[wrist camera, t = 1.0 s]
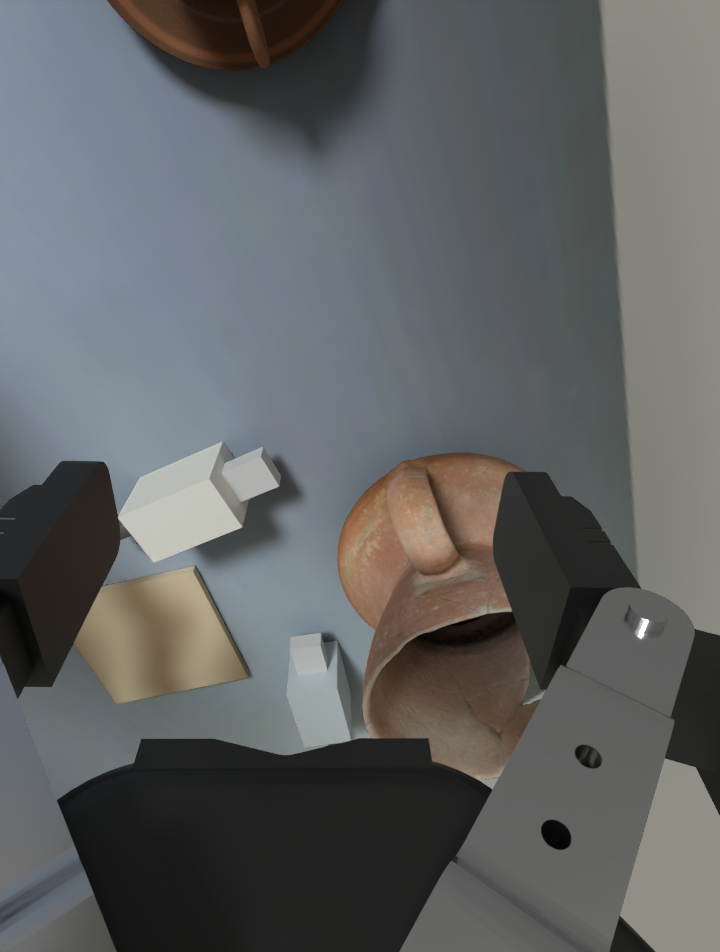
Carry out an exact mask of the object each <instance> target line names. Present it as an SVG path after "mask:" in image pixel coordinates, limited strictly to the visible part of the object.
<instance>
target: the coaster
mask: <svg viewBox="0 0 720 952" xmlns="http://www.w3.org/2000/svg"><path fill="white" fill-rule="evenodd" d="M73 644H74V645H75V647H76V648H77V649H78V651H79V652H80V654H81V655H82V656H83V658H84V659H85V661H86V662H87V663H88V665H89V666H90V668H91V669H92V670H93V672H94V673H95V675H96V676H97V677H98V679H99V680H100V682H101V683H102V684H103V686H104V687H105V689H106V690H107V691H108V693H109V694H110V696H111V697H112V699H113V700H114V701H115V703H116V704H120V703H125V702H130V701H135V700H140V699H145V698H150V697H155V696H160V695H165V694H170V693H175V692H180V691H185V690H190V689H195V688H200V687H205V686H210V685H215V684H219V683H224V682H229V681H234V680H239V679H244V678H248V676H249V670H248V668H247V666H246V664H245V662H244V660H243V658H242V657H241V655H240V653H239V651H238V649H237V647H236V645H235V643H234V641H233V639H232V637H231V635H230V633H229V631H228V629H227V627H226V625H225V623H224V621H223V619H222V618H221V616H220V614H219V612H218V610H217V608H216V606H215V604H214V602H213V600H212V598H211V596H210V594H209V592H208V590H207V588H206V586H205V584H204V582H203V580H202V579H201V577H200V575H199V573H198V571H197V569H196V567H195V566H192V567H188V568H183V569H179V570H174V571H170V572H165V573H161V574H156V575H152V576H147V577H143V578H138V579H134V580H129V581H125V582H120V583H116V584H111V585H107V586H102V587H101V589H100V591H99V593H98V595H97V597H96V599H95V601H94V603H93V605H92V607H91V609H90V611H89V613H88V615H87V617H86V619H85V621H84V623H83V625H82V627H81V629H80V631H79V633H78V635H77V637H76V639H75V641H74V643H73Z"/></svg>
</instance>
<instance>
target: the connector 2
mask: <svg viewBox="0 0 720 952" xmlns="http://www.w3.org/2000/svg"><path fill="white" fill-rule="evenodd" d="M286 695H287V698H288V701H289V704H290V707H291V710H292V713H293V716H294V719H295V722H296V725H297V728H298V731H299V734H300V736H301V739H302V742H303V745H304V747H312V746H320V745H328V746H331V745H335V744H339V743H343V742H347V741H351V740H352V738H351V692H350V688H349V684H348V680H347V677H346V673H345V669H344V665H343V661H342V657H341V653H340V649H339V645H338V641H331V642H323V638H322V635H321V633H316V634H309V635H302V636H295V637H291V641H290V661H289V672H288V683H287V694H286Z"/></svg>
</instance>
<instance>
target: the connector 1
mask: <svg viewBox="0 0 720 952" xmlns="http://www.w3.org/2000/svg"><path fill="white" fill-rule="evenodd" d="M280 480H281V475H280V473H279V472H278V470H277V468H276V467H275V465H274V463H273V462H272V460H271V459H270V457H269V455H268V454H267V452H266V450H265V449H264V447H261V448H259V449H256V450H254V451H252V452H249V453H247V454H245V455H242V456H240V457H238V458H235V459H234V458H233V456H232V455H231V453H230V452H229V450H228V448H227V447H226V445H225V444H224V442H220V443H218V444H216V445H213V446H211V447H209V448H206V449H204V450H202V451H200V452H197V453H195V454H193V455H190V456H188V457H186V458H183V459H181V460H179V461H177V462H174V463H172V464H170V465H167V466H165V467H163V468H160V469H158V470H156V471H154V472H151V473H149V474H147V475H144V476H142V477H140V478H139V480H138V482H137V484H136V485H135V487H134V489H133V491H132V492H131V494H130V496H129V498H128V500H127V501H126V503H125V505H124V507H123V508H122V510H121V512H120V514H119V515H118V519H119V525H120V540H122V539H124V538H127V537H129V536H131V535H132V536H133V537H134V539H135V540H136V541H137V542H138V544H139V545H140V546H141V547H142V549H143V550H144V551H145V552H146V553H147V555H148V556H149V557H150V558H151V560H152V561H153V562H154V563H155V562H157V561H160V560H162V559H165V558H167V557H170V556H172V555H175V554H177V553H180V552H182V551H185V550H187V549H190V548H192V547H195V546H197V545H200V544H202V543H205V542H207V541H210V540H212V539H215V538H217V537H220V536H222V535H225V534H227V533H230V532H232V531H235V530H237V529H240V528H242V527H243V523H244V519H245V515H246V511H247V507H248V502H249V499H250V498H252V497H255V496H257V495H260V494H262V493H265V492H267V491H269V490H272V489H274V488H277V487H279V485H280Z"/></svg>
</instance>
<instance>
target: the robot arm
mask: <svg viewBox="0 0 720 952" xmlns="http://www.w3.org/2000/svg"><path fill="white" fill-rule="evenodd" d="M610 542H611V541H610V540H609V538H608V537H607V535H606V534H605V532H604V531H602V528H601V526H600V524H599V523H598V521H597V520H596V518H595V517H594V515H593V514H592V512H591V511H590V510H589V509H587V508H586V507H585V506H583V505H582V504H581V503H579V502H578V501H577V500H575V499H574V498H573V497H566V496H561V495H560V493H559V492H558V490H557V489H556V487H555V485H554V484H553V482H552V480H551V479H550V477H549V475H548V474H547V473H545V472H511V471H510V472H508V473H507V474H506V476H505V479H504V483H503V488H502V493H501V498H500V503H499V508H498V513H497V518H496V523H495V528H494V534H493V556H494V561H495V565H496V568H497V570H498V573H499V576H500V579H501V581H502V584H503V587H504V590H505V593H506V595H507V598H508V601H509V604H510V606H511V609H512V612H513V615H514V618H515V620H516V623H517V626H518V629H519V631H520V634H521V637H522V640H523V643H524V645H525V648H526V651H527V654H528V656H529V659H530V662H531V665H532V668H533V670H534V673H535V676H536V679H537V681H538V684H539V687H540V689H547V690H546V692H545V693H544V695H543V697H542V699H541V701H540V703H539V705H538V706H537V708H536V710H535V712H534V714H533V716H532V718H531V719H530V721H529V723H528V725H527V727H526V729H525V731H524V732H523V734H522V736H521V738H520V740H519V742H518V743H517V745H516V747H515V749H514V751H513V753H512V755H511V756H510V758H509V760H508V762H507V764H506V766H505V768H504V769H503V771H502V773H501V775H500V777H499V779H498V781H497V783H496V784H495V786H494V788H493V790H492V789H491V788H490V787H488V786H486V785H485V784H483V783H482V782H480V781H479V780H477V779H476V778H474V777H472V776H470V775H468V774H466V773H464V772H462V771H460V770H457V769H455V768H452V767H449V766H447V765H444V764H441V763H437V762H433V761H432V757H431V750H430V744H429V738H359V739H355V740H351V741H347V742H343V743H339V744H335V745H331V746H326V747H322V748H318V749H314V750H310V751H306V752H302V753H298V754H294V755H278V754H274V753H269V752H265V751H261V750H257V749H253V748H249V747H245V746H241V745H237V744H233V743H229V742H224V741H220V740H216V739H141V743H140V746H139V749H138V752H137V755H136V759H135V762H134V763H133V764H129V765H125V766H122V767H119V768H117V769H114V770H111V771H108V772H106V773H103V774H101V775H99V776H97V777H95V778H93V779H90V780H88V781H86V782H85V783H83V784H81V785H80V786H78V787H76V788H74V789H73V790H71V791H69V792H68V793H66V794H65V795H64V796H62V797H61V798H59V799H58V800H57V799H56V797H55V794H54V791H53V789H52V786H51V784H50V781H49V779H48V776H47V774H46V771H45V768H44V766H43V763H42V761H41V758H40V756H39V753H38V750H37V748H36V745H35V743H34V740H33V738H32V735H31V732H30V730H29V727H28V725H27V722H26V720H25V717H24V715H23V712H22V709H21V707H20V704H19V702H18V697H19V696H20V694H21V692H22V690H23V688H24V687H52V685H53V683H54V681H55V679H56V677H57V675H58V673H59V671H60V669H61V667H62V665H63V663H64V661H65V659H66V657H67V655H68V653H69V651H70V649H71V647H72V645H73V643H74V641H75V639H76V637H77V635H78V633H79V631H80V629H81V627H82V625H83V623H84V621H85V619H86V617H87V615H88V613H89V611H90V609H91V607H92V605H93V603H94V601H95V599H96V597H97V595H98V593H99V591H100V589H101V587H102V585H103V583H104V581H105V579H106V577H107V575H108V573H109V571H110V569H111V567H112V565H113V563H114V561H115V559H116V557H117V554H118V550H119V545H120V525H119V520H118V515H117V510H116V505H115V500H114V494H113V489H112V484H111V479H110V474H109V470H108V468H107V466H106V464H105V463H104V462H97V461H62V462H60V463H59V464H58V466H57V467H56V468H55V469H54V471H53V472H52V473H51V474H50V476H49V477H48V478H47V479H46V481H45V482H44V483H43V484H42V485H33V486H31V487H29V488H28V489H26V490H24V491H23V492H21V493H20V494H18V495H16V496H15V497H13V498H11V499H10V500H9V501H8V502H7V503H6V504H5V506H4V507H3V508H2V509H1V510H0V952H655V951H654V950H653V949H652V948H651V947H650V946H649V945H648V944H647V943H646V942H645V941H644V940H643V939H642V938H641V937H640V936H639V935H638V934H637V932H636V931H635V930H634V929H633V928H632V927H630V925H629V924H627V922H626V921H625V920H624V919H623V918H622V917H621V916H620V912H621V909H622V905H623V902H624V898H625V895H626V891H627V887H628V884H629V881H630V877H631V874H632V870H633V866H634V863H635V860H636V856H637V853H638V849H639V846H640V842H641V839H642V835H643V832H644V828H645V824H646V821H647V818H648V814H649V811H650V807H651V804H652V800H653V796H654V793H655V790H656V786H657V783H658V779H659V776H660V772H661V769H662V765H663V762H664V758H666V759H669V760H673V761H676V762H680V763H683V764H687V765H690V766H694V767H696V768H697V770H698V772H699V774H700V776H701V778H702V781H703V782H704V784H705V787H706V789H707V791H708V793H709V795H710V797H711V799H712V801H713V803H714V805H715V807H716V809H717V811H718V813H719V815H720V636H719V635H716V634H711V633H707V632H703V631H700V630H696V629H694V626H693V624H692V621H691V620H690V618H689V617H688V615H687V614H686V613H685V612H684V611H683V610H682V609H681V608H680V607H678V606H677V605H676V604H674V603H673V602H671V601H670V600H668V599H667V598H665V597H663V596H661V595H658V594H656V593H653V592H651V591H648V590H643V589H641V587H640V586H639V584H638V583H637V581H636V580H635V578H634V577H633V575H632V573H631V572H630V570H629V569H628V567H627V566H626V564H625V563H624V561H623V560H622V558H621V557H620V555H619V554H618V552H617V551H616V549H615V547H614V546H613V545H611V544H610Z"/></svg>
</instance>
